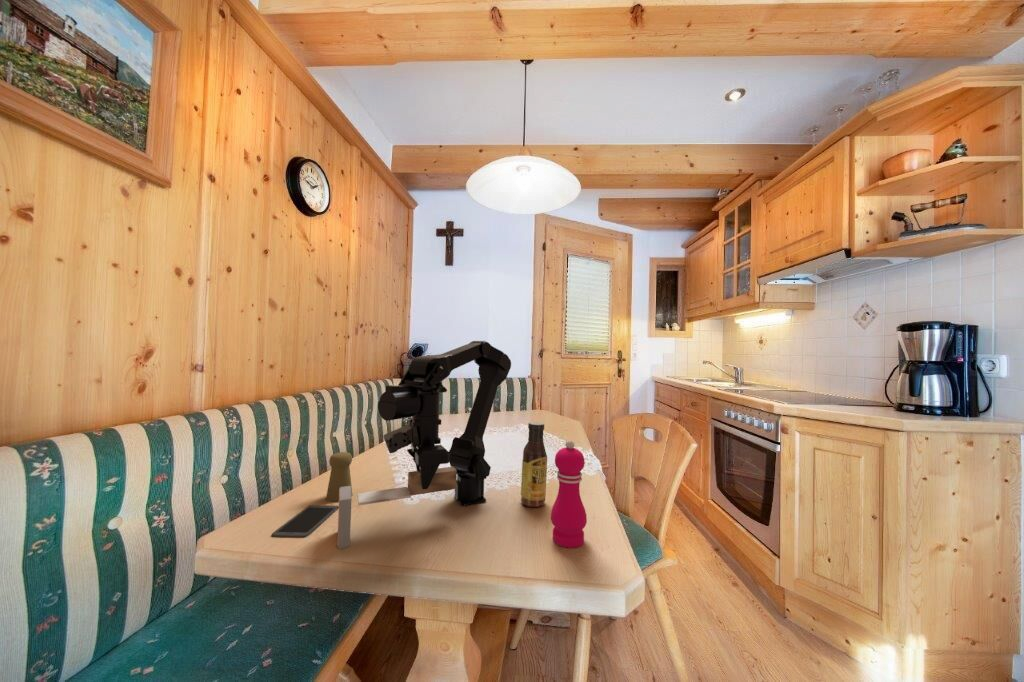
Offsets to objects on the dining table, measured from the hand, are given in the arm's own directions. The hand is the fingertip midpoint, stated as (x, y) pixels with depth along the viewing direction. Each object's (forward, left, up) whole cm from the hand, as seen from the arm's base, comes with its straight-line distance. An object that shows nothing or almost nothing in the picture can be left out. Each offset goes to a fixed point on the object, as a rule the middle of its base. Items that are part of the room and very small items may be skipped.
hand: (423, 486), depth 77 cm
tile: (+15, 0, -8) cm, 17 cm away
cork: (+16, -22, -8) cm, 29 cm away
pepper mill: (-26, +18, -8) cm, 32 cm away
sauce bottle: (-28, 0, -8) cm, 29 cm away
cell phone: (+22, -11, -9) cm, 26 cm away
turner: (+3, 0, -1) cm, 3 cm away
